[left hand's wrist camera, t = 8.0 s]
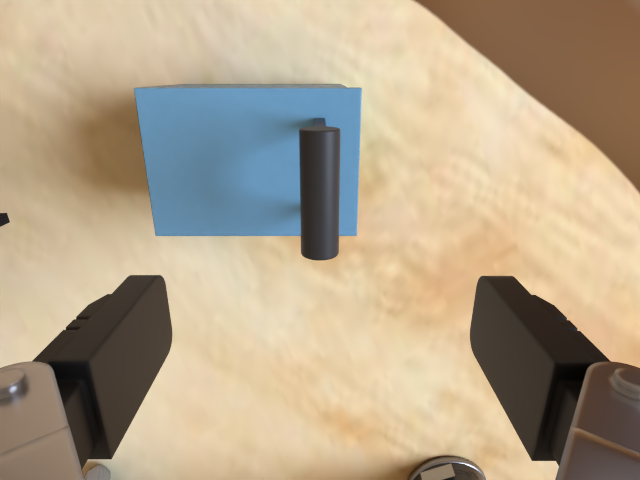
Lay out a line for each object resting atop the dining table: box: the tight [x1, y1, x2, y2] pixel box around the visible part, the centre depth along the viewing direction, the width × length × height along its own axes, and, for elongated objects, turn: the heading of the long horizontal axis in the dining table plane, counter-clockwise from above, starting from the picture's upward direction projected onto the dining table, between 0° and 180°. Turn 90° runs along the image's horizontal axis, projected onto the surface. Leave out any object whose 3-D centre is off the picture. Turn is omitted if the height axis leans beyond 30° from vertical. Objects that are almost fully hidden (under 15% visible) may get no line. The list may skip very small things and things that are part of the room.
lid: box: [134, 88, 362, 260], centre depth 25 cm, size 14×10×9 cm
